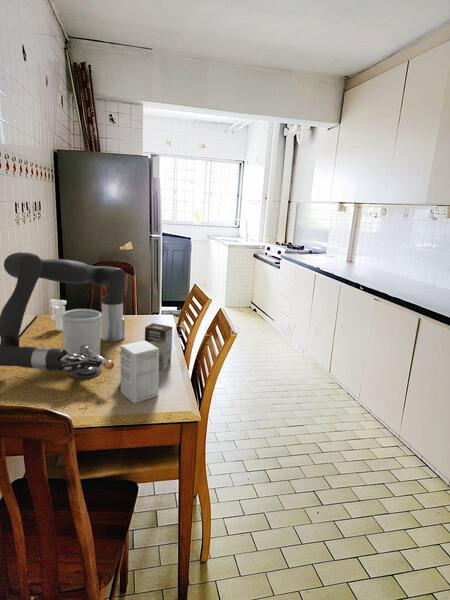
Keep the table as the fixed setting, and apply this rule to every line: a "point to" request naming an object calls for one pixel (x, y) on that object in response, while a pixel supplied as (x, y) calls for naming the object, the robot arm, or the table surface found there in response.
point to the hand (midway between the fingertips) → (100, 363)
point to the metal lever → (87, 349)
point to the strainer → (58, 312)
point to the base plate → (76, 375)
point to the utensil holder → (81, 330)
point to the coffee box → (160, 342)
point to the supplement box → (139, 371)
